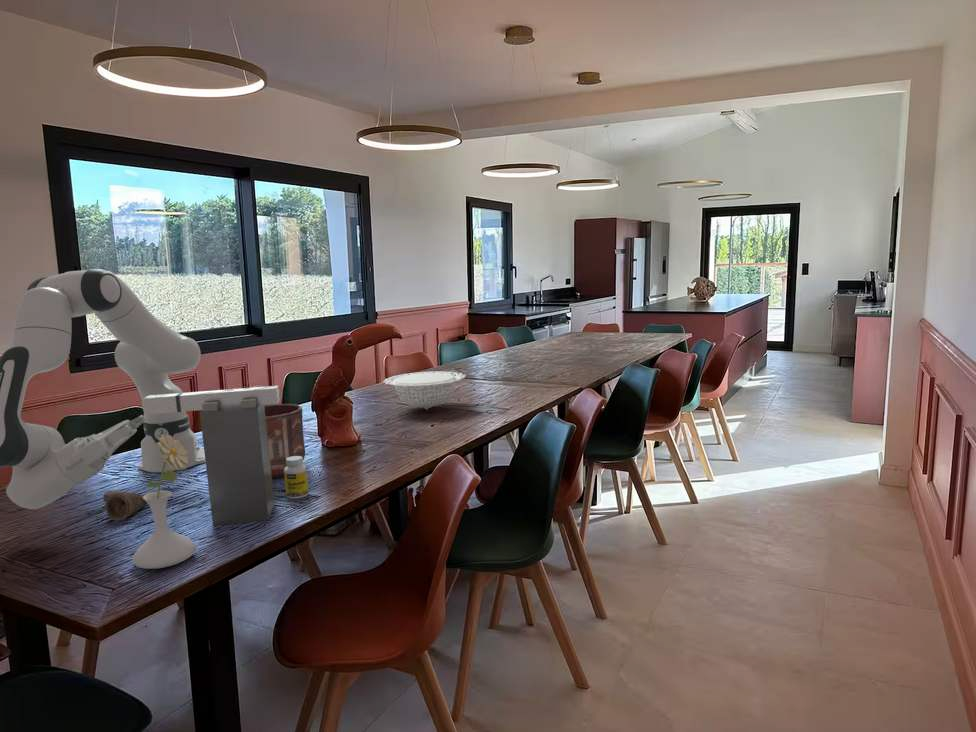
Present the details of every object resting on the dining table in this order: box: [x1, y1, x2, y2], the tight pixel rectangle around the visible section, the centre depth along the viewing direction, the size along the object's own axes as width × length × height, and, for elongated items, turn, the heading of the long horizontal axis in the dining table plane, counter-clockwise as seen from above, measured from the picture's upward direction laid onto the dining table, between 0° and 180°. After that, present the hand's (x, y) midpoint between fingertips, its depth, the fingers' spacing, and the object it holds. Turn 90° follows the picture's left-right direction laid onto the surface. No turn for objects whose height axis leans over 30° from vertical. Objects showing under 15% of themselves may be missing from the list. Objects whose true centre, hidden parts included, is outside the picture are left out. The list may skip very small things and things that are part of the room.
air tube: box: [143, 385, 281, 415], centre depth 149 cm, size 4×28×4 cm, turn 101°
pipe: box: [102, 490, 148, 521], centre depth 160 cm, size 6×17×10 cm
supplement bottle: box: [284, 456, 309, 500], centre depth 165 cm, size 5×5×10 cm
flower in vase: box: [131, 434, 197, 570], centre depth 129 cm, size 13×11×25 cm
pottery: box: [264, 403, 306, 479], centre depth 184 cm, size 18×18×18 cm
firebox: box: [199, 398, 275, 527], centre depth 152 cm, size 10×12×28 cm
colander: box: [382, 370, 467, 411], centre depth 256 cm, size 32×32×13 cm
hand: (137, 422), depth 146 cm, fingers open, 8 cm apart
